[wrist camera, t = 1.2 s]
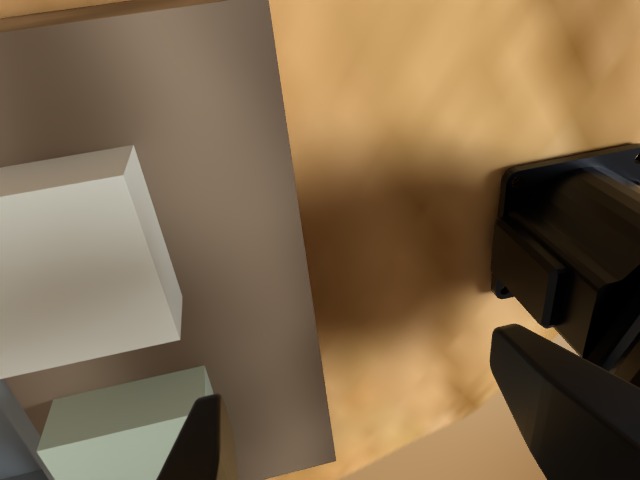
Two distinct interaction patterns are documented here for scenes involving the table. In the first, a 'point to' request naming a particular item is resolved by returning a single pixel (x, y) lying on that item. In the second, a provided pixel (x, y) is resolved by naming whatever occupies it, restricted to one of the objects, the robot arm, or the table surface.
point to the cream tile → (81, 263)
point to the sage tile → (120, 427)
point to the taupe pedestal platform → (186, 201)
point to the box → (18, 441)
